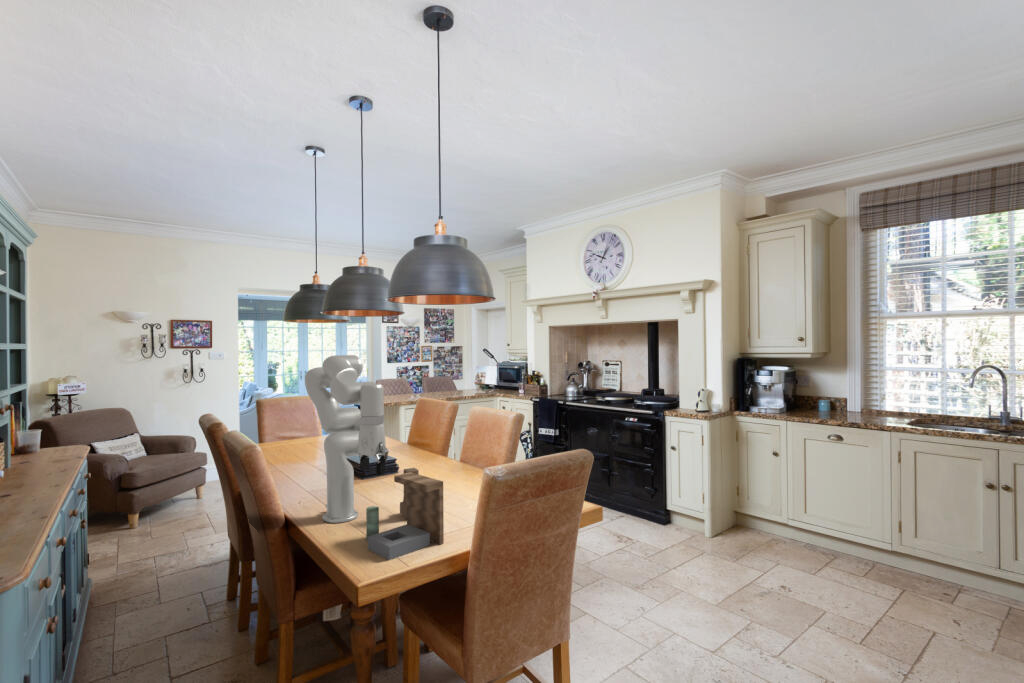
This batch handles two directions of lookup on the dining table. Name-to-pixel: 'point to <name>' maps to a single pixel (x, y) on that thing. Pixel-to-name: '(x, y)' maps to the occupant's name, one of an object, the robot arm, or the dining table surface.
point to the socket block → (398, 541)
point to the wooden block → (404, 504)
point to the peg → (372, 521)
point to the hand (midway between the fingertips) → (372, 472)
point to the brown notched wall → (424, 504)
